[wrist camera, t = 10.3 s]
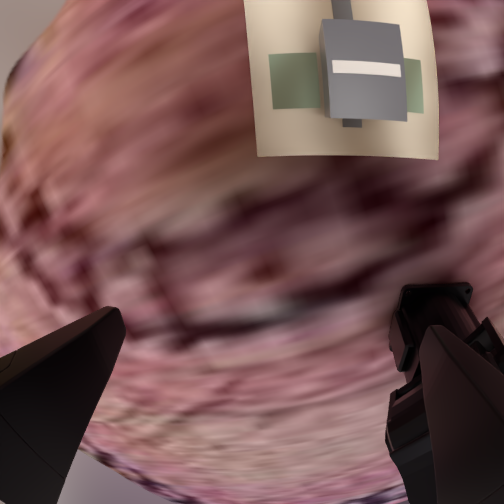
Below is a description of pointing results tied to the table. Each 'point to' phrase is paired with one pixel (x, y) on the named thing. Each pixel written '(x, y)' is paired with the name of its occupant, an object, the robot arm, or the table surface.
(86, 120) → the table surface
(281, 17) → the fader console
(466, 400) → the robot arm
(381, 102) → the fader knob
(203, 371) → the table surface
